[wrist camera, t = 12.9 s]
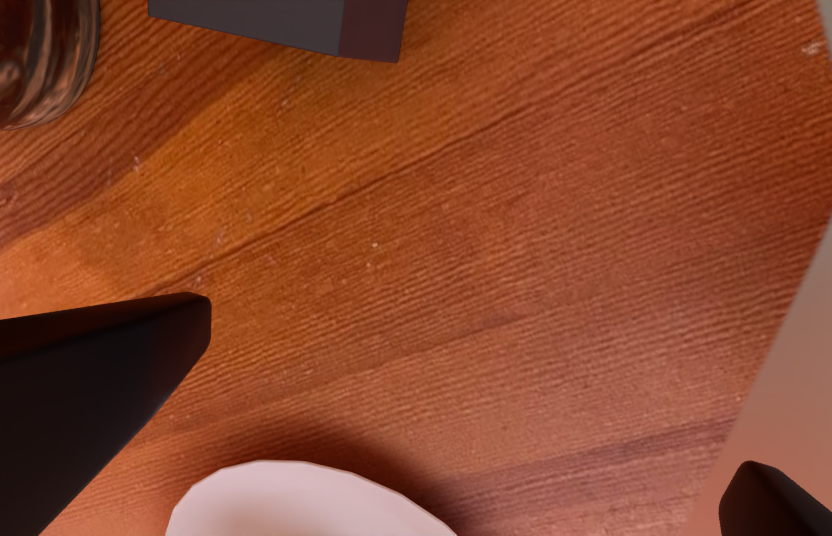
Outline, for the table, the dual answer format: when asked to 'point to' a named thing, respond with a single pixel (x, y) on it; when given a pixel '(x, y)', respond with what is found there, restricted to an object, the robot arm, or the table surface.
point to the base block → (300, 23)
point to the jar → (44, 58)
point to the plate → (297, 504)
